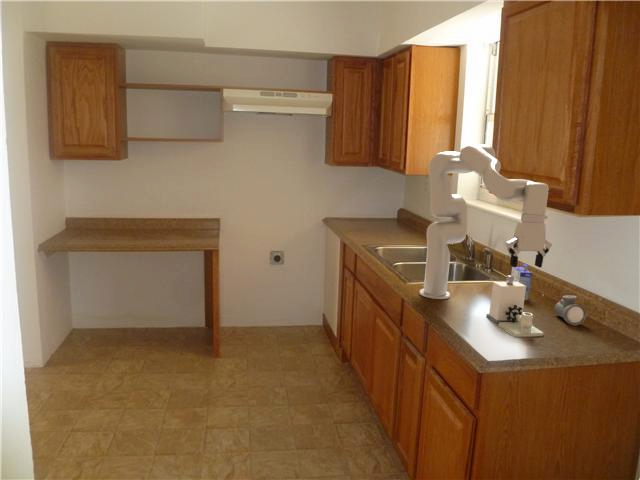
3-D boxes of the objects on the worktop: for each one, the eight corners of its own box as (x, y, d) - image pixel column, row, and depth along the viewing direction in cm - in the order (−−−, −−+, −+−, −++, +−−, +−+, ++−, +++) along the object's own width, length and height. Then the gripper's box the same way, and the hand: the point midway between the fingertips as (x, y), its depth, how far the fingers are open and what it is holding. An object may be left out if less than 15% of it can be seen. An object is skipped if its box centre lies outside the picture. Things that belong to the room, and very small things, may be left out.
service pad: (498, 325, 204) (498, 322, 203) (525, 324, 206) (525, 321, 206) (515, 336, 193) (515, 333, 193) (543, 335, 195) (543, 332, 195)
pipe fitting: (587, 325, 208) (587, 298, 207) (565, 326, 207) (566, 299, 206) (570, 318, 219) (571, 292, 218) (550, 318, 219) (550, 293, 218)
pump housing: (486, 317, 212) (491, 273, 209) (512, 316, 214) (517, 273, 211) (497, 324, 204) (502, 279, 201) (523, 323, 207) (530, 279, 203)
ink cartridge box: (529, 300, 236) (533, 267, 233) (516, 300, 236) (520, 267, 233) (520, 293, 246) (524, 261, 243) (507, 293, 245) (511, 261, 242)
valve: (536, 334, 193) (521, 321, 205) (539, 316, 192) (523, 304, 204) (518, 333, 193) (504, 321, 204) (521, 315, 191) (506, 304, 203)
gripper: (548, 217, 198) (541, 263, 201) (504, 216, 194) (497, 263, 197) (561, 221, 190) (554, 269, 194) (516, 220, 187) (509, 269, 190)
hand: (525, 266), depth 196 cm, fingers open, 9 cm apart
